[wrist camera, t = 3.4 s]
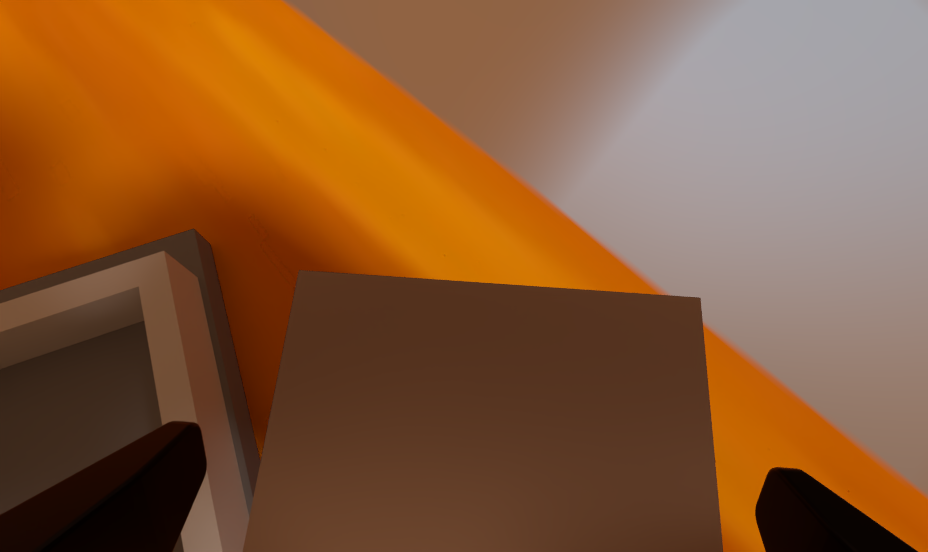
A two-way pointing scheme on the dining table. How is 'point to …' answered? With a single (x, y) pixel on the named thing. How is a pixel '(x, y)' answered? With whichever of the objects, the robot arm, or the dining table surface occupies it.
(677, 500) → the walnut post
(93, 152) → the dining table surface
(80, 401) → the base board
